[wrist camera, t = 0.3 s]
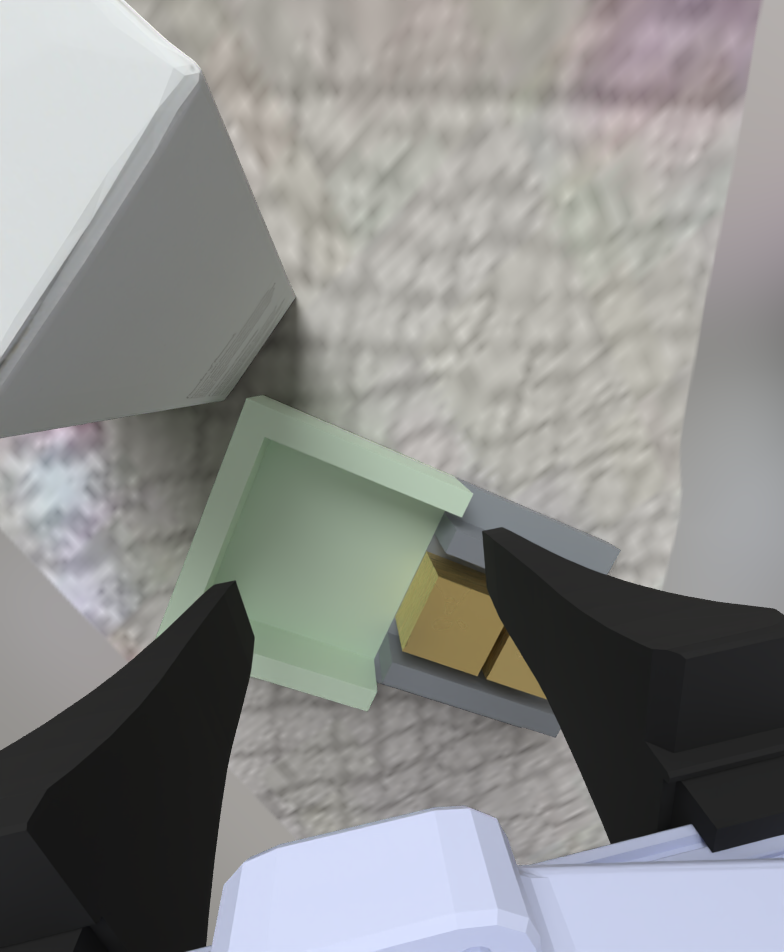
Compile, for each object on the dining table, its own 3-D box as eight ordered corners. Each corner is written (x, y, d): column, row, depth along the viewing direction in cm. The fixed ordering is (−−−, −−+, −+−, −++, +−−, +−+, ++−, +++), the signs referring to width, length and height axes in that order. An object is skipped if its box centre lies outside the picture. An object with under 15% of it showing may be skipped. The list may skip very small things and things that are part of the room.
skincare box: (66, 291, 19) (-1010, -49, 4) (147, 163, 18) (-782, -860, 3) (230, 407, 21) (-75, 480, 6) (310, 294, 20) (204, 34, 5)
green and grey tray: (513, 712, 26) (539, 764, 23) (182, 605, 23) (151, 648, 19) (607, 542, 25) (652, 569, 21) (263, 395, 21) (245, 398, 17)
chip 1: (461, 639, 24) (477, 676, 21) (395, 616, 23) (402, 651, 20) (493, 576, 23) (514, 605, 20) (426, 550, 22) (438, 576, 19)
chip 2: (530, 663, 24) (555, 702, 21) (469, 642, 24) (486, 679, 21) (563, 603, 24) (593, 634, 21) (501, 579, 23) (523, 608, 20)
